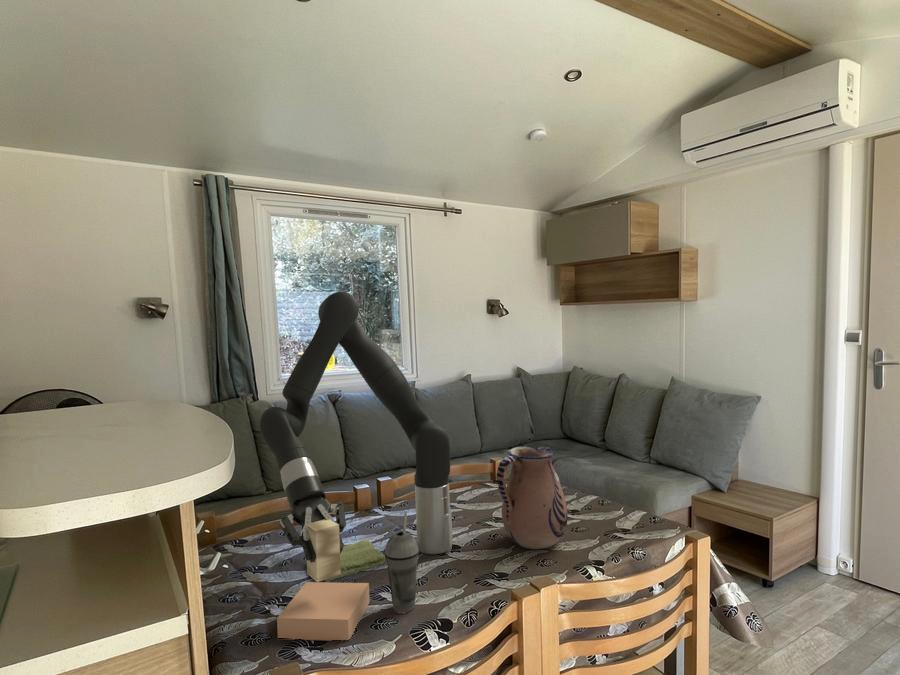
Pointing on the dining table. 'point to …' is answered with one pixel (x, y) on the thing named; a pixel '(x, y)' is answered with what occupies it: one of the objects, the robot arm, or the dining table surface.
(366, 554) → the washcloth
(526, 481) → the ceramic pitcher
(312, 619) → the terracotta plinth
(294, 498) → the robot arm
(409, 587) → the beverage cup
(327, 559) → the birch block
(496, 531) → the dining table surface
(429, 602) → the dining table surface
